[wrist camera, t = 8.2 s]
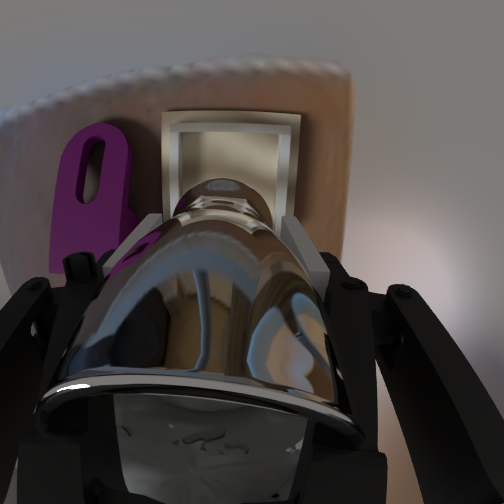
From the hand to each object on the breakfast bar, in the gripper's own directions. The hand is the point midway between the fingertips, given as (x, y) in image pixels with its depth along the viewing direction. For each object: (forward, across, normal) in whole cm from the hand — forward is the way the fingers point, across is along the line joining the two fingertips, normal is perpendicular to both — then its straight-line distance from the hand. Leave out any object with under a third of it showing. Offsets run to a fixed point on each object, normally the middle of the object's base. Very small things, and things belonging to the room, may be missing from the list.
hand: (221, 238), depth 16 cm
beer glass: (+2, 0, 0) cm, 2 cm away
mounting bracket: (+21, +16, +2) cm, 27 cm away
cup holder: (+21, 0, 0) cm, 21 cm away
